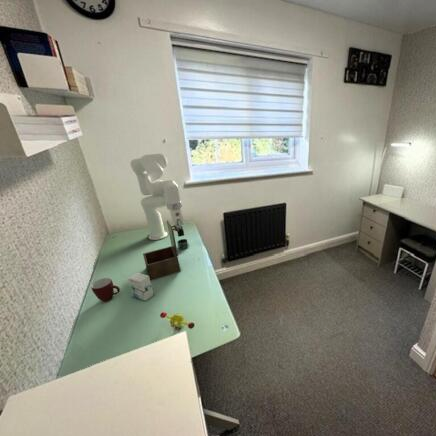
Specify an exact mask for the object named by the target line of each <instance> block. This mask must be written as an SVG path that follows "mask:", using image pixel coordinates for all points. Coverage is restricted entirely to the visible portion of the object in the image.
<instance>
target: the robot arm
mask: <svg viewBox="0 0 436 436" xmlns="http://www.w3.org/2000/svg"><path fill="white" fill-rule="evenodd" d="M167 166H168V159H167V157H166V156H165V155H164V154H163V153H151V154H144V155H142V156H140V158H134V159H131V160H130V167H131V169H132V171H133V172H134V174H135V176H136V178H137V182H138V186H139V190H140V193H141V195H142V196H145V197H143V198H141V200H140V205H141V207H142V209H143V212H144V214H145V219H146V222H147V226H148V230H149V235H148V239H149V240H151V241H159V240H162V239H164V238H166V237H168V235H169V233H168V232H167V231H165V227H164V222H163V218H162V214H161V212H160V211H158V210H157V209H162V208H165V207H166V209H167V210H168V211H169V213H170V217H171V222H172V223H173V226H177V230H174V232H177V237H178V238H179V237H184V236H185V232H184V227H183V225H185V221H184V216H183V212H182V208H183V205H182V200H181V199H182V198H181V193H180V189H179V185H178V184H177V183H176V182H175V181H174V180H172V179H168V180H162V179H160V178H162V177H163V176H164V169H165V168H166V167H167ZM177 224H178V225H177ZM178 226H179V228H178ZM174 228H176V227H173V229H174Z"/></svg>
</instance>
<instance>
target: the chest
mask: <svg viewBox="0 0 436 436" xmlns="http://www.w3.org/2000/svg"><path fill="white" fill-rule="evenodd" d="M142 256H143V260H144V264H145V268H146V271H147V276H149V278H150V282H151V281H154V280H157V279H160V278H164V277H166V276H170V275H172V274H176V273H179V272H181V266H180V262H179V256H176V254H175V252H174V250H173V247H172V245H170V246H165V247H163V248H159V249H155V250H152V251H148V252H144V253H142Z"/></svg>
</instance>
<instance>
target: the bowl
mask: <svg viewBox="0 0 436 436" xmlns="http://www.w3.org/2000/svg"><path fill="white" fill-rule="evenodd" d="M176 245H177V249H179V250H184V249H188V248H189V246H190V245H189V240H188V239H186V238H181V239H179V240H177V242H176Z"/></svg>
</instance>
